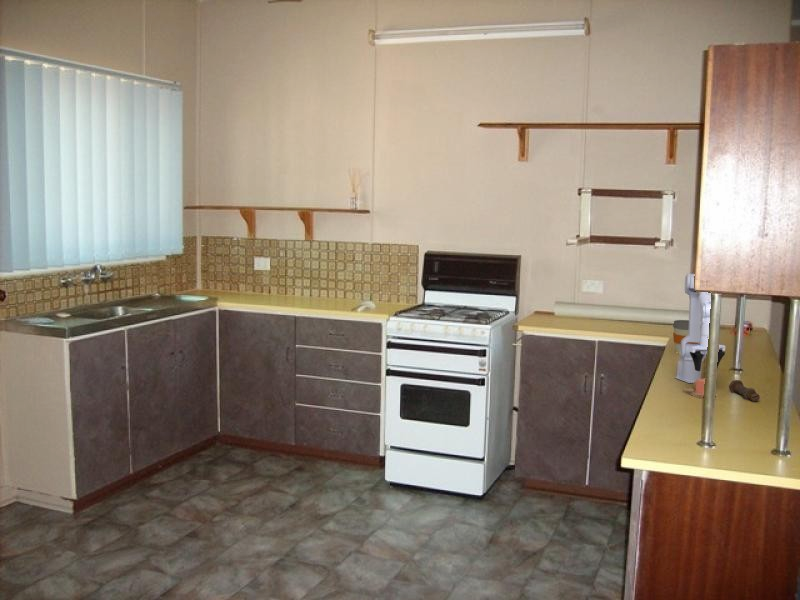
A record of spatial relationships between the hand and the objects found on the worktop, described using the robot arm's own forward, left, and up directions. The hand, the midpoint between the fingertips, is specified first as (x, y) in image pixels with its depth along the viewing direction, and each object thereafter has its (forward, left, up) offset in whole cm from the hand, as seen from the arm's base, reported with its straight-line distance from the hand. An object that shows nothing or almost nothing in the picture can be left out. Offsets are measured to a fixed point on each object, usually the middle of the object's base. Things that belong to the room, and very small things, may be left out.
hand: (705, 370), depth 300 cm
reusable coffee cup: (-69, +45, -10) cm, 83 cm away
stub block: (-2, 0, -10) cm, 10 cm away
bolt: (+5, +14, -11) cm, 19 cm away
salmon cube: (0, 0, -9) cm, 9 cm away
